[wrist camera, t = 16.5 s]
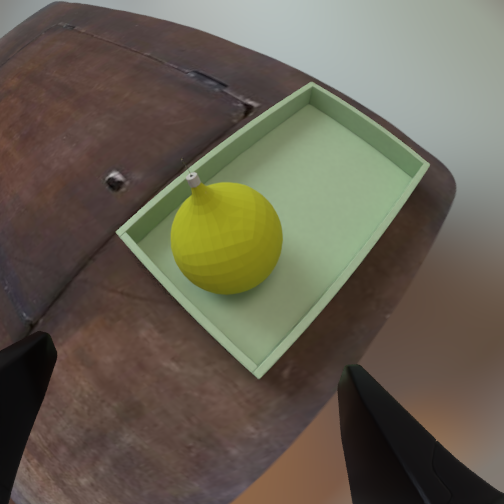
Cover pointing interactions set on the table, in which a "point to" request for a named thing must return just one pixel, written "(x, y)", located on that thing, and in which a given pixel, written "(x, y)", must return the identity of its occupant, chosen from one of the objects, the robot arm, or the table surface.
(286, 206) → the pale green tray
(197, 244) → the ornament
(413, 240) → the table surface
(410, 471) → the robot arm
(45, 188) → the table surface
